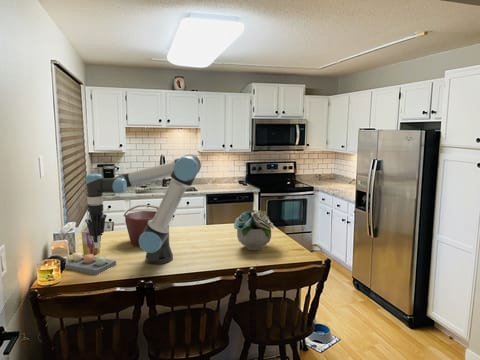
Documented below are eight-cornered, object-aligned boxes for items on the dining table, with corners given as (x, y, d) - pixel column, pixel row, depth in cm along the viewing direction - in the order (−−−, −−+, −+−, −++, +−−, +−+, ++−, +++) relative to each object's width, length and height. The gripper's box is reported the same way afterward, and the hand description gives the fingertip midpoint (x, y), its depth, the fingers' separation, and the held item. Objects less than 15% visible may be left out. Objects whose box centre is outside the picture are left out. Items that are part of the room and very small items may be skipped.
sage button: (107, 263, 188) (107, 256, 188) (100, 267, 184) (100, 260, 183) (100, 262, 190) (100, 255, 190) (93, 266, 186) (93, 258, 185)
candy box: (94, 251, 212) (93, 227, 210) (100, 252, 211) (98, 228, 208) (82, 256, 204) (81, 231, 202) (88, 257, 203) (86, 232, 200)
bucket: (168, 238, 238) (167, 202, 234) (157, 249, 216) (156, 209, 212) (133, 237, 240) (131, 201, 236) (119, 248, 219) (117, 208, 215)
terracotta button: (96, 261, 191) (95, 254, 191) (89, 265, 187) (88, 257, 186) (89, 260, 193) (88, 253, 193) (81, 263, 189) (81, 256, 188)
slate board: (116, 265, 192) (115, 260, 192) (97, 275, 180) (96, 270, 179) (82, 258, 201) (82, 254, 201) (61, 267, 188) (61, 263, 188)
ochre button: (84, 259, 194) (84, 252, 194) (77, 262, 190) (77, 255, 189) (77, 258, 196) (77, 251, 196) (70, 261, 192) (70, 254, 191)
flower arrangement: (271, 257, 204) (272, 216, 200) (229, 254, 209) (229, 214, 205) (276, 243, 228) (276, 206, 224) (238, 240, 233) (238, 204, 229)
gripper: (98, 200, 190) (101, 242, 193) (79, 205, 178) (82, 250, 181) (110, 202, 187) (112, 244, 191) (91, 207, 175) (94, 252, 179)
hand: (97, 247), depth 186 cm, fingers closed
